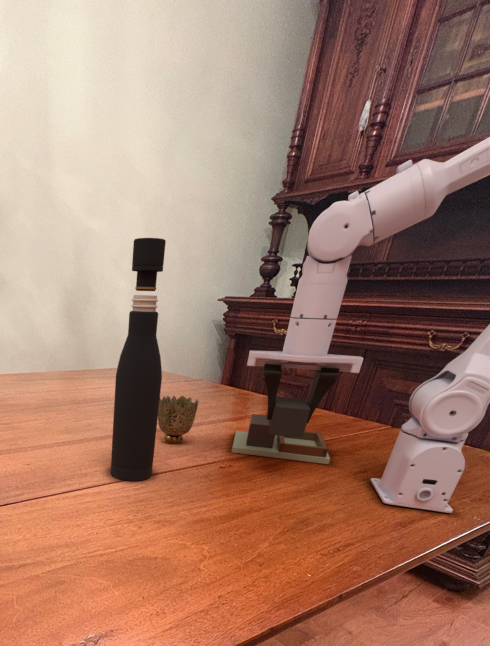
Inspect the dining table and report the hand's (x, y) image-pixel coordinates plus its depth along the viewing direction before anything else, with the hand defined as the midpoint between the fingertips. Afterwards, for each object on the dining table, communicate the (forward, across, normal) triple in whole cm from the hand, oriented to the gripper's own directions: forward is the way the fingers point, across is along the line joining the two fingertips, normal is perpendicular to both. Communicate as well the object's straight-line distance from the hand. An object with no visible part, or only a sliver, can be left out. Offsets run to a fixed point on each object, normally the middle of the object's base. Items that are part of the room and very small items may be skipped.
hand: (287, 420), depth 64 cm
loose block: (+1, 0, 0) cm, 1 cm away
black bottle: (+8, +21, +10) cm, 25 cm away
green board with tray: (+8, -1, -14) cm, 17 cm away
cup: (+8, +18, -10) cm, 22 cm away
